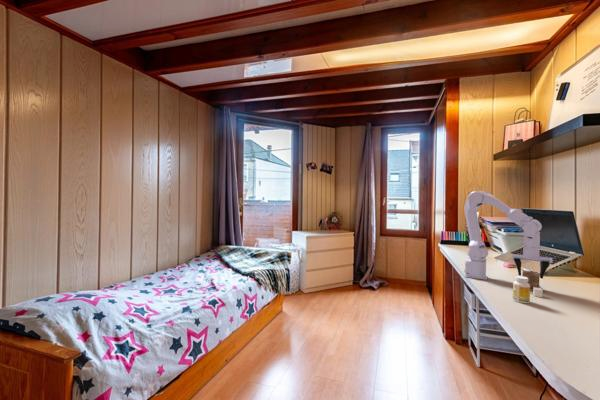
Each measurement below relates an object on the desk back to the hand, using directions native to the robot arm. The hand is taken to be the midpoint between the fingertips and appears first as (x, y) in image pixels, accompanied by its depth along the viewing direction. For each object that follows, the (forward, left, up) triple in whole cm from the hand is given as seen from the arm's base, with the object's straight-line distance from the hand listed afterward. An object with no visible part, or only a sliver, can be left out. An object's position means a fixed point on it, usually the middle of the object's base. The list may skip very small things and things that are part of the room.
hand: (530, 276), depth 128 cm
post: (0, 0, -6) cm, 6 cm away
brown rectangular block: (0, 0, -5) cm, 5 cm away
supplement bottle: (-6, -21, -6) cm, 23 cm away
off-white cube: (+1, -10, -6) cm, 11 cm away
